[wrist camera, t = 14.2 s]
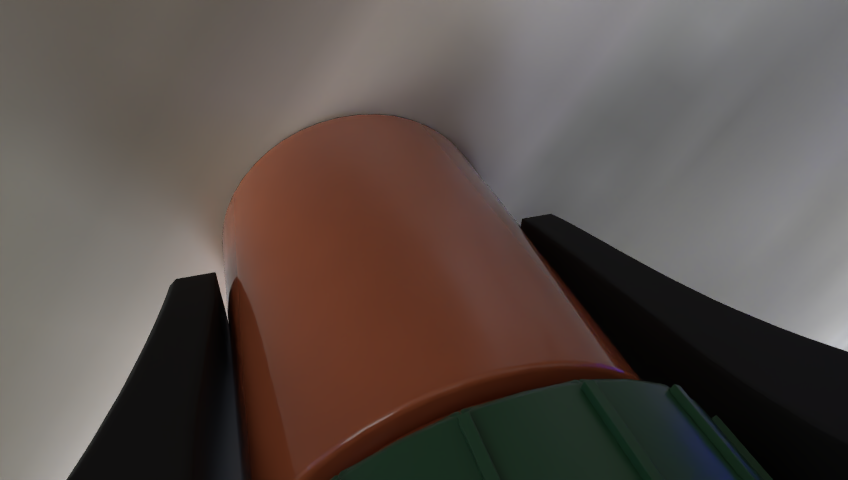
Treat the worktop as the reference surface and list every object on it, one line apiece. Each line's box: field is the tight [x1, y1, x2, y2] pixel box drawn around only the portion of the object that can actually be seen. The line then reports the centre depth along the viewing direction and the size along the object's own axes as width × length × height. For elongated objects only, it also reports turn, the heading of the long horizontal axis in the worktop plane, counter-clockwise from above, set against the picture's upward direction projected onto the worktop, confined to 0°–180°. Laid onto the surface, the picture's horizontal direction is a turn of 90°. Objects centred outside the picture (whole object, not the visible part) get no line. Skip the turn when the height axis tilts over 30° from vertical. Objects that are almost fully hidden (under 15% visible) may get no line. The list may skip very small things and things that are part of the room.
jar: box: [222, 114, 642, 480], centre depth 9 cm, size 5×5×8 cm
